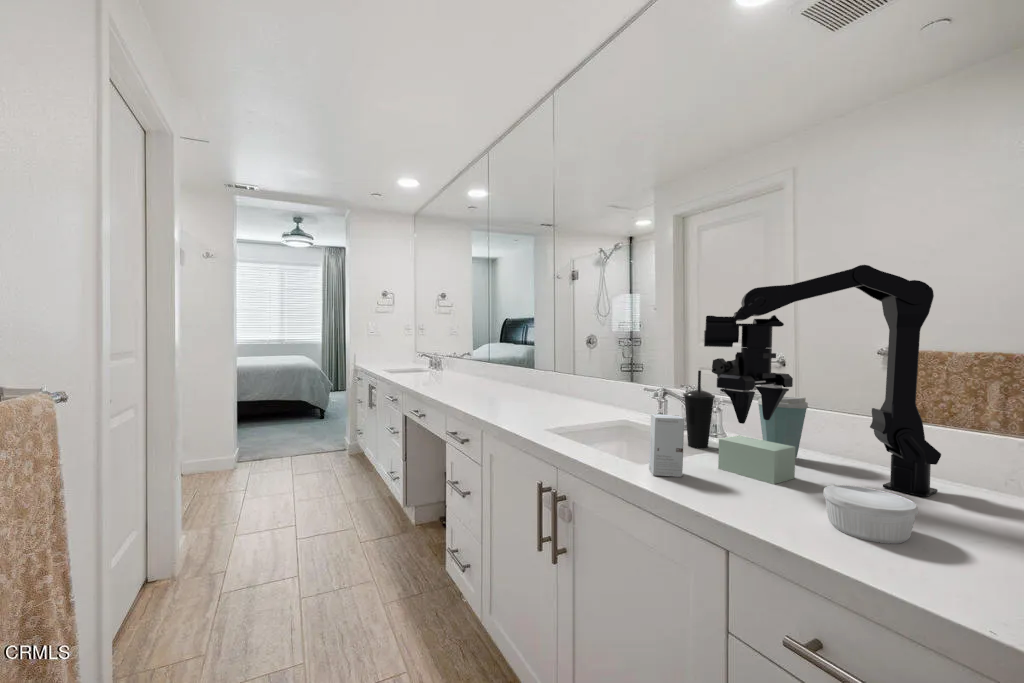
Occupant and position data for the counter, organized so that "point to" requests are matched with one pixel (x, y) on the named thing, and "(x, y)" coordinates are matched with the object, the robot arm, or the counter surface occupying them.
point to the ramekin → (870, 513)
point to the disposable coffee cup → (785, 422)
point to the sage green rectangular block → (757, 459)
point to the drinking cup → (698, 416)
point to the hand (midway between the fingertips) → (754, 421)
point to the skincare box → (666, 445)
